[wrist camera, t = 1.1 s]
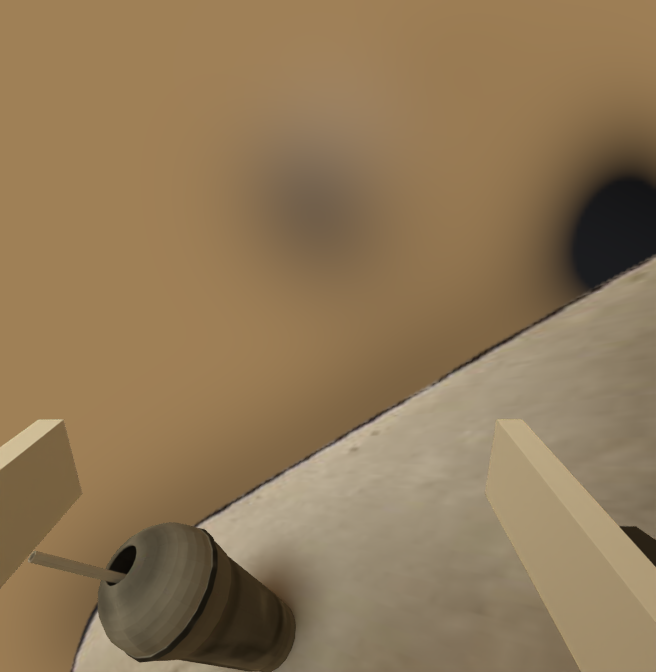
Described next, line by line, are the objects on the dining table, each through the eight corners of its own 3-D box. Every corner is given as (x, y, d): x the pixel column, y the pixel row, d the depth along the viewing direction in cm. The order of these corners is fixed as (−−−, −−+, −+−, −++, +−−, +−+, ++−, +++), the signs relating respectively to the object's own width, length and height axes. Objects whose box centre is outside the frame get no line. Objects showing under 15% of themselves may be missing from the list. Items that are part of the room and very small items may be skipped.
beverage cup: (326, 604, 30) (134, 480, 19) (279, 722, 26) (4, 652, 15) (264, 569, 35) (81, 454, 24) (217, 665, 31) (-29, 580, 20)
